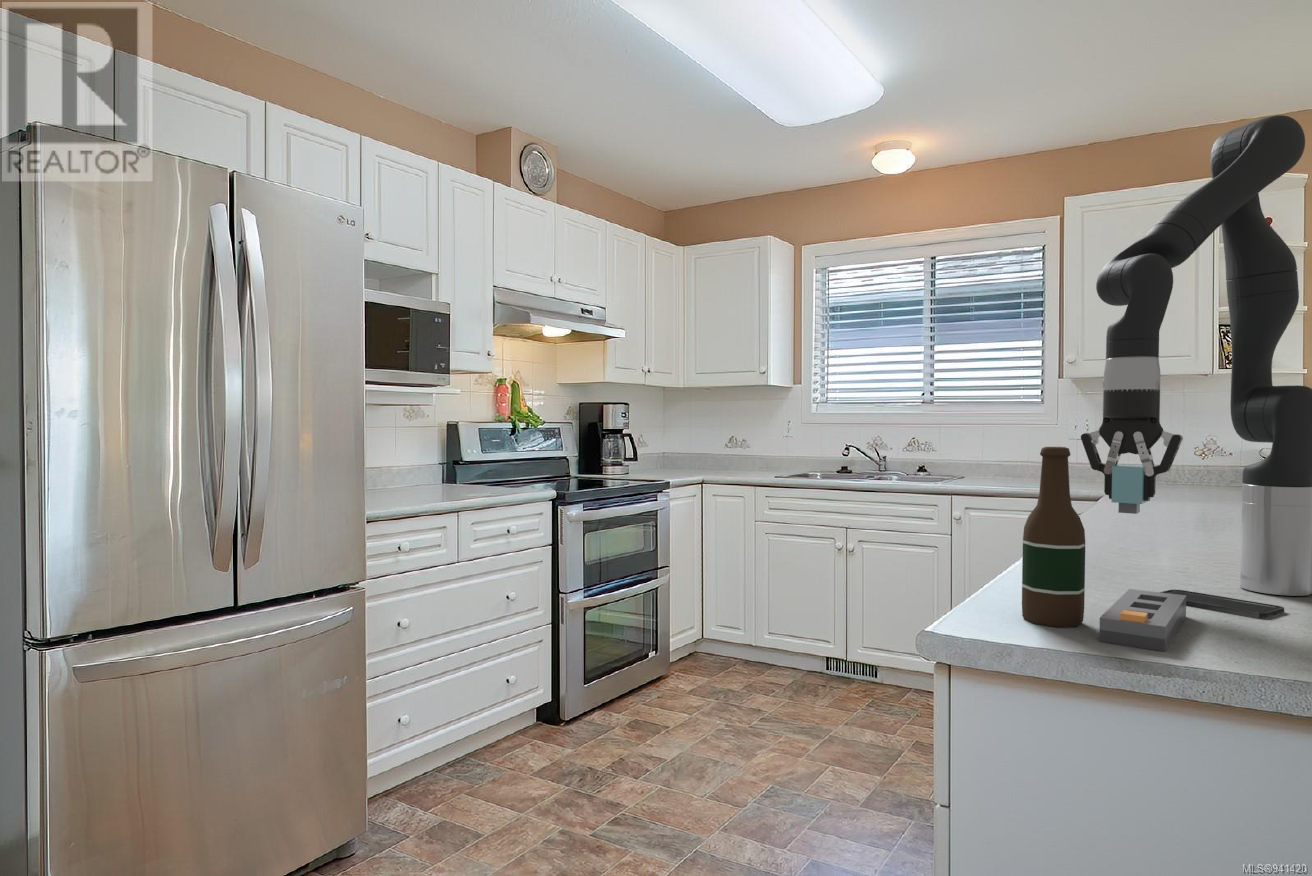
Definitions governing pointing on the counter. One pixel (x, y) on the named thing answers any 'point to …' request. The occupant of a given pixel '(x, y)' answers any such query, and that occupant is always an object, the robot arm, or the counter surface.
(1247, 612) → the phone
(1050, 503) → the beer bottle
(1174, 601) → the power strip
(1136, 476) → the block
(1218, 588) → the counter surface
